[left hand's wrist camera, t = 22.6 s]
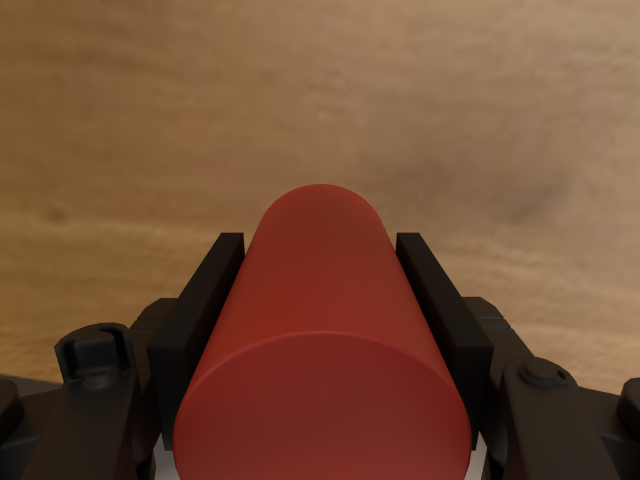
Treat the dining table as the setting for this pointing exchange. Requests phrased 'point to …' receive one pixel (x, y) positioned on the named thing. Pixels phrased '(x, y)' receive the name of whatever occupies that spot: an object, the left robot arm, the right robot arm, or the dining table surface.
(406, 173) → the dining table surface
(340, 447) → the canister
